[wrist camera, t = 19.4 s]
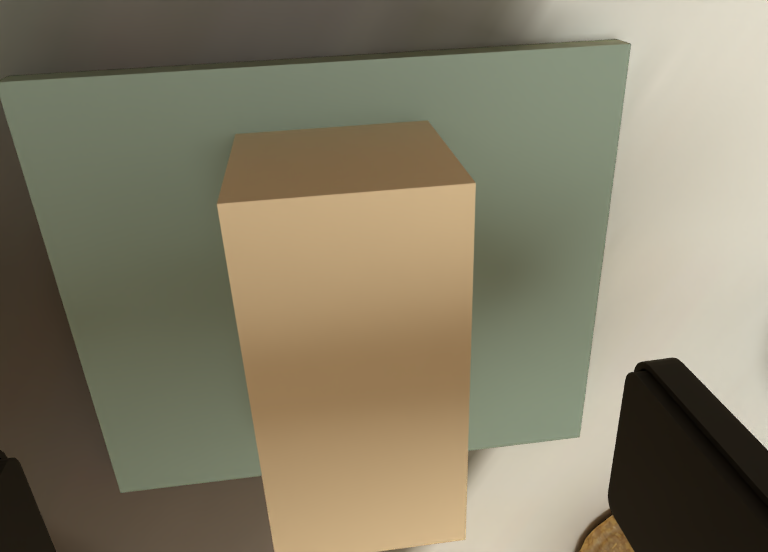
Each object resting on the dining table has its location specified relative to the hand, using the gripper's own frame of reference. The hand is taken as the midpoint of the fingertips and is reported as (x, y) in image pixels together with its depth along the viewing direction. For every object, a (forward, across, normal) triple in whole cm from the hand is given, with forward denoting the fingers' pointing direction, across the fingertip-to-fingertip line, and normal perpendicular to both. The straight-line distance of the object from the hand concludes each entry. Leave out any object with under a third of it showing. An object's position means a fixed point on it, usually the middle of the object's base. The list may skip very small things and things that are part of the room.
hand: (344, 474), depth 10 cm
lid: (+7, -1, 0) cm, 7 cm away
